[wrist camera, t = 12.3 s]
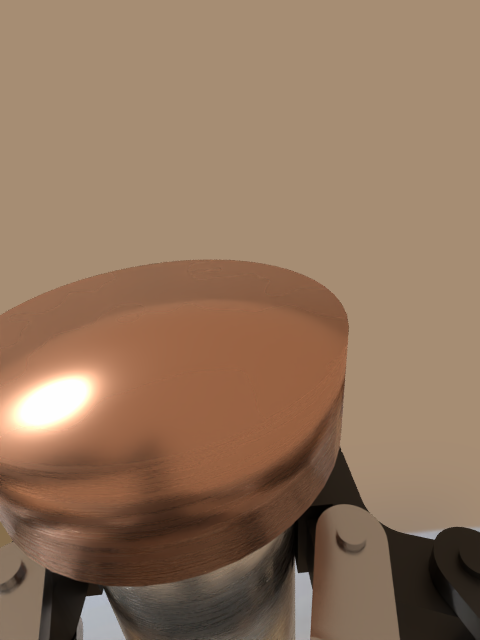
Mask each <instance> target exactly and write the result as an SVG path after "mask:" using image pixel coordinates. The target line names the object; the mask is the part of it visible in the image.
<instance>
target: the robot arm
mask: <svg viewBox="0 0 480 640" xmlns="http://www.w3.org/2000/svg"><path fill="white" fill-rule="evenodd" d="M294 530H295V560H296V565H297V570H298V573H303V572H309V576H310V580H311V585H312V589H313V596H312V616H311V635H310V640H480V532H478V531H475V530H472V529H469V528H464V527H451V528H447V529H445V530H443V531H442V532H440V533H439V534H438V535H437V537H436V539H435V540H433V539H428V538H423V537H419V536H414V535H409V534H404V533H401V532H397V531H395V530H392V529H390V528H388V527H386V526H385V525H383V524H382V523H380V522H379V521H378V520H377V519H376V518H375V517H374V516H373V515H372V514H370V513H369V511H368V510H367V509H366V507H365V505H364V504H363V502H362V499H361V497H360V494H359V492H358V489H357V487H356V484H355V482H354V480H353V477H352V475H351V472H350V470H349V467H348V465H347V463H346V460H345V458H344V455H343V453H342V452H341V448H340V447H339V451H338V455H337V458H336V462H335V465H334V468H333V470H332V472H331V474H330V476H329V478H328V480H327V482H326V484H325V486H324V488H323V489H322V490H321V492H320V493H319V495H318V496H317V497H316V499H315V500H314V502H313V503H312V504H311V506H310V507H309V508H308V509H307V510H306V511H305V512H304V513H303V514H302V515H301V516H300V517H299V518H298V519H297V520H296V521H295V522H294ZM102 593H103V586H102V585H98V584H93V583H87V582H82V581H77V580H74V579H71V578H69V577H66V576H63V575H60V574H58V573H55V572H52V571H50V570H49V569H47V568H45V567H44V566H42V565H40V564H39V563H37V562H36V561H34V560H32V559H31V558H29V557H28V556H27V555H26V554H25V553H24V552H23V551H22V550H21V549H20V548H19V547H18V546H17V545H16V544H15V543H14V542H13V541H12V542H11V543H9V544H7V545H5V546H3V547H2V548H0V640H83V622H82V619H81V617H80V616H81V612H82V608H83V605H84V601H85V597H86V596H94V595H102Z"/></svg>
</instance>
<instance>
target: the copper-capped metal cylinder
mask: <svg viewBox="0 0 480 640" xmlns="http://www.w3.org/2000/svg"><path fill="white" fill-rule="evenodd" d="M348 332H349V325H348V319H347V314H346V312H345V310H344V308H343V306H342V304H341V302H340V301H339V300H338V299H337V298H336V296H335V295H334V294H333V293H331V291H329V290H328V289H327V288H326V287H325V286H323V285H321V284H320V283H318V282H316V281H315V280H313V279H311V278H309V277H306V276H304V275H302V274H299V273H296V272H294V271H291V270H288V269H284V268H280V267H277V266H271V265H266V264H261V263H255V262H247V261H235V260H186V261H173V262H163V263H155V264H149V265H142V266H137V267H131V268H126V269H121V270H116V271H112V272H108V273H104V274H100V275H96V276H93V277H89V278H86V279H82V280H79V281H76V282H73V283H70V284H67V285H64V286H61V287H59V288H56V289H54V290H51V291H48V292H46V293H43V294H41V295H39V296H37V297H34V298H32V299H30V300H28V301H26V302H24V303H22V304H20V305H18V306H16V307H14V308H12V309H10V310H8V311H7V312H5V313H3V314H2V315H0V521H1V522H2V524H3V526H4V527H5V529H6V531H7V532H8V534H9V535H10V537H11V538H12V540H13V542H14V543H15V544H16V545H17V546H18V547H19V548H20V549H21V550H22V551H23V552H24V553H25V554H26V555H27V556H28V557H29V558H31V559H32V560H34V561H36V562H37V563H39V564H40V565H42V566H44V567H45V568H47V569H49V570H50V571H52V572H55V573H58V574H60V575H63V576H66V577H69V578H71V579H74V580H77V581H82V582H87V583H93V584H98V585H102V586H103V588H104V590H105V593H106V595H107V597H108V600H109V602H110V604H111V606H112V609H113V611H114V613H115V616H116V618H117V620H118V623H119V625H120V627H121V629H122V632H123V634H124V636H125V639H126V640H295V530H294V522H295V521H296V520H297V519H298V518H299V517H300V516H301V515H302V514H303V513H304V512H305V511H306V510H307V509H308V508H309V507H310V506H311V504H312V503H313V502H314V500H315V499H316V497H317V496H318V495H319V493H320V492H321V490H322V489H323V488H324V486H325V484H326V482H327V480H328V478H329V476H330V474H331V472H332V470H333V468H334V465H335V462H336V458H337V455H338V451H339V447H340V437H341V427H342V413H343V399H344V386H345V371H346V359H347V345H348Z"/></svg>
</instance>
